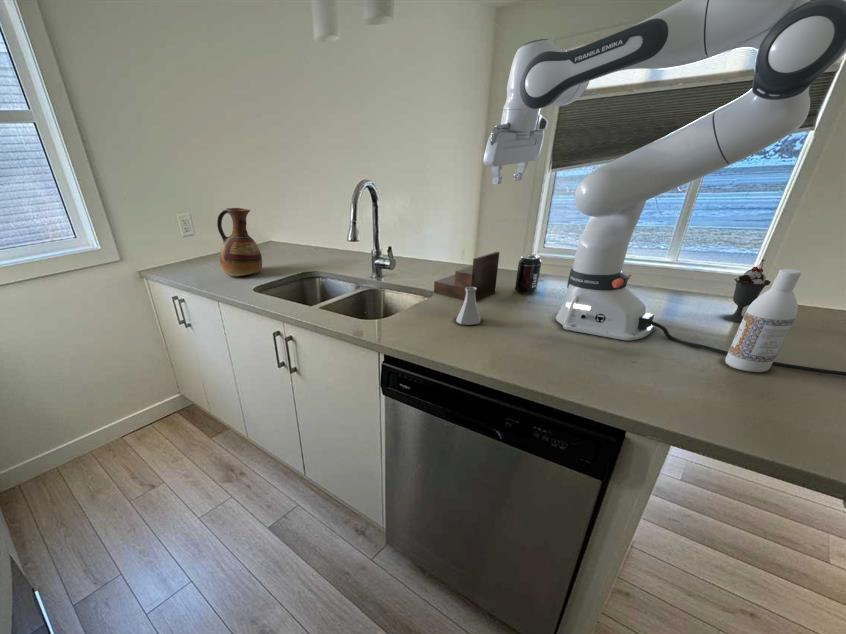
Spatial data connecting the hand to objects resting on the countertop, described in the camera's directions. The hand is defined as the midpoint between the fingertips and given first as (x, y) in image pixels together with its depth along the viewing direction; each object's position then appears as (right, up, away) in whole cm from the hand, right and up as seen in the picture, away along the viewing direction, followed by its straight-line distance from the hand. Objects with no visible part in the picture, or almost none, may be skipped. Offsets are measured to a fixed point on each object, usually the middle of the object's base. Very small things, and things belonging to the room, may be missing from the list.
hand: (507, 182), depth 111 cm
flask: (-8, -38, +8) cm, 39 cm away
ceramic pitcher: (-93, -3, +84) cm, 125 cm away
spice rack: (-2, -24, +31) cm, 39 cm away
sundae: (+57, -39, -6) cm, 70 cm away
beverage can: (+17, -25, +26) cm, 40 cm away
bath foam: (+39, -53, -26) cm, 71 cm away
